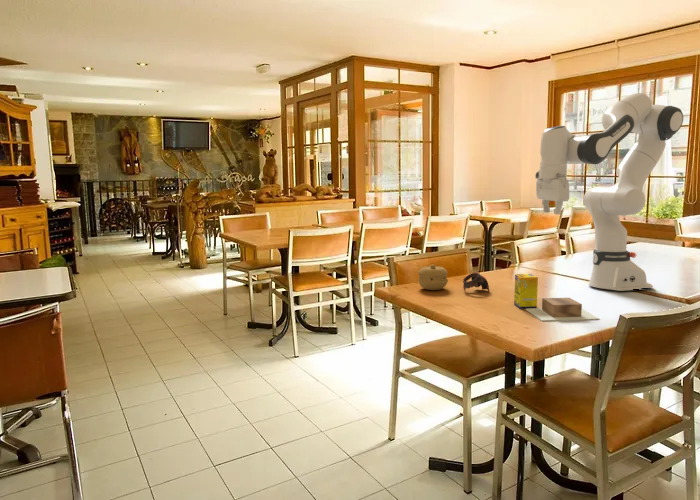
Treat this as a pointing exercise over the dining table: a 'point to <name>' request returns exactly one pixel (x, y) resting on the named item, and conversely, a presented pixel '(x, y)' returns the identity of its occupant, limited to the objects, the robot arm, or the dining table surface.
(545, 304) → the walnut slab
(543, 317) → the mat
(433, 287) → the pot
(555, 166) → the robot arm
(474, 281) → the brown ceramic rounded piece
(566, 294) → the dining table surface
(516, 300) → the supplement box
